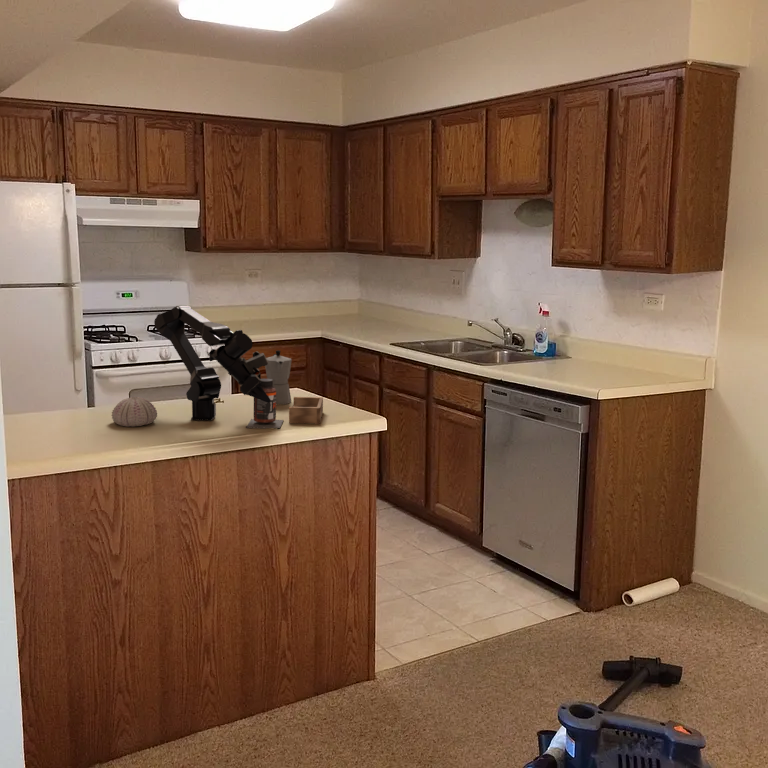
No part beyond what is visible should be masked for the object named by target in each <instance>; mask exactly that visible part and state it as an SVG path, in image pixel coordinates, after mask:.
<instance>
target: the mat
mask: <svg viewBox="0 0 768 768" xmlns="http://www.w3.org/2000/svg"><path fill="white" fill-rule="evenodd" d="M283 423H284V419H276V420H275V421H274V422H271V423H258V422H256V421H254V418H251V419H250V421H249V422H248V424H247V425H246V427H245V428H246V429H266V428H280V427H282V425H283ZM280 429H281V428H280Z"/></svg>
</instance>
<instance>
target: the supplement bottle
mask: <svg viewBox="0 0 768 768" xmlns="http://www.w3.org/2000/svg"><path fill="white" fill-rule="evenodd" d="M261 387H262V388H263V390H264V391H265V392H266V394H267V395H268V397H269V398H270V400H271V401H270V402H269V403H267V402H265V401H262V400H260V399H257V398H255V397H253V419H254V421H256V422H258V423H271V422H274V421H275V420H277V405H276V389H275V388H274V387H273V380H272V379H268V378H261Z"/></svg>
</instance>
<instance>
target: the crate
mask: <svg viewBox="0 0 768 768" xmlns="http://www.w3.org/2000/svg"><path fill="white" fill-rule="evenodd" d="M322 413H323V414H324V397H321V396H319V397H318V396H293V406H289V407H288V424H304V423H315V424H316V425H317V424H318V425H320V424H321V422H322V418H321V417H323V414H322ZM315 424H314V425H315Z"/></svg>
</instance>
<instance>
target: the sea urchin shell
mask: <svg viewBox="0 0 768 768" xmlns="http://www.w3.org/2000/svg"><path fill="white" fill-rule="evenodd" d="M157 418H158V411H157V409H156V407H155V405H154V404H153V403H152V402H150V401H149V400H148V399H146V398H143V397H138V396H132V397H126V398H124V399H122V400H121V401H119V402H118V403H117V404H116V405H115V406H114V407H113V410H112V412H111V419H112V421H113V422H115V424H117V425H118V426H121V427H128V428H129V427H141V426H146V425H149V424H152V423H154V422H155V421H156V420H157Z"/></svg>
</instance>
